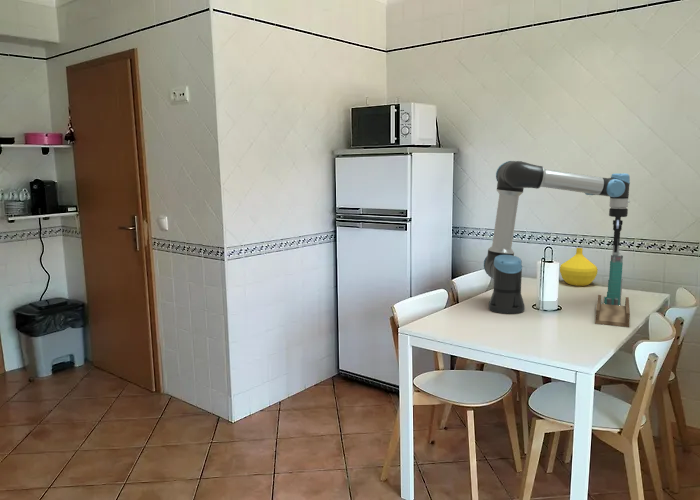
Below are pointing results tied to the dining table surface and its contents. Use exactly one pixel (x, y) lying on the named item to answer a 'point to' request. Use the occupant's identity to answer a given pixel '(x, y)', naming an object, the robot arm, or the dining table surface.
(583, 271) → the vase
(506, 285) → the robot arm
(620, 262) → the building
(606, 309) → the tray
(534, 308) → the dining table surface
